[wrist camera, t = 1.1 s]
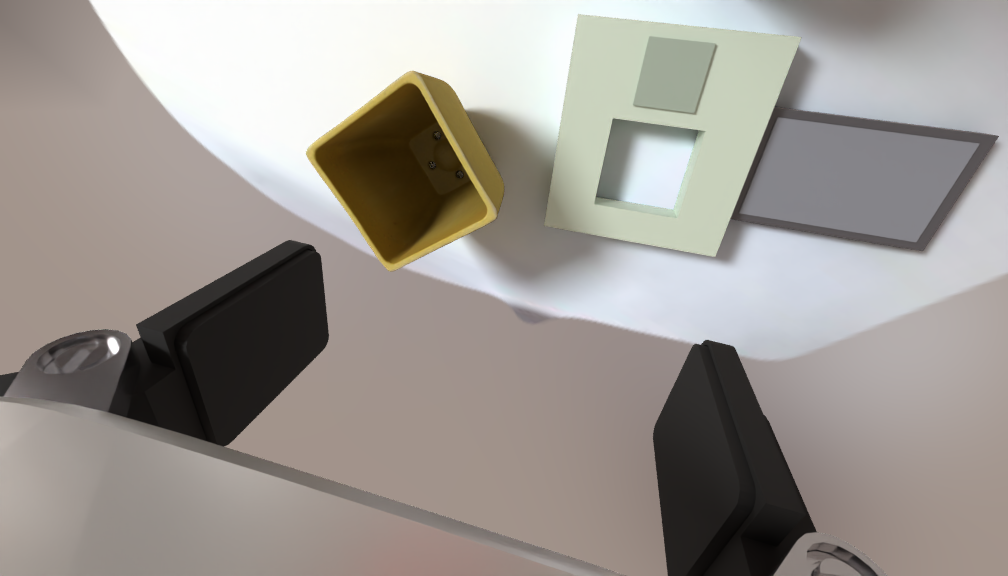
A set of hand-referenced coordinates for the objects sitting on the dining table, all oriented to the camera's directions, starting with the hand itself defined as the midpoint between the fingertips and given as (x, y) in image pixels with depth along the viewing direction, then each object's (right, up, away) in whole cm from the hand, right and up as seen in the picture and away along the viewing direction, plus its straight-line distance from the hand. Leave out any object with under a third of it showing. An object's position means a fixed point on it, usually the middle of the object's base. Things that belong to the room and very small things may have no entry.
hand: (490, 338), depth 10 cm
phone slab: (+22, +8, +16) cm, 28 cm away
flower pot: (-4, +11, +21) cm, 24 cm away
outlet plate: (+10, +11, +18) cm, 23 cm away
